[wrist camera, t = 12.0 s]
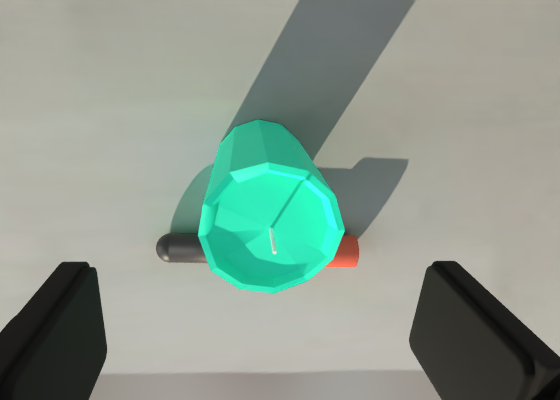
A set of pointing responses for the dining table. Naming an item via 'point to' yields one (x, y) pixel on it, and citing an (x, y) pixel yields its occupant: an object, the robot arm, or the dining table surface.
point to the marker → (191, 251)
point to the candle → (267, 211)
